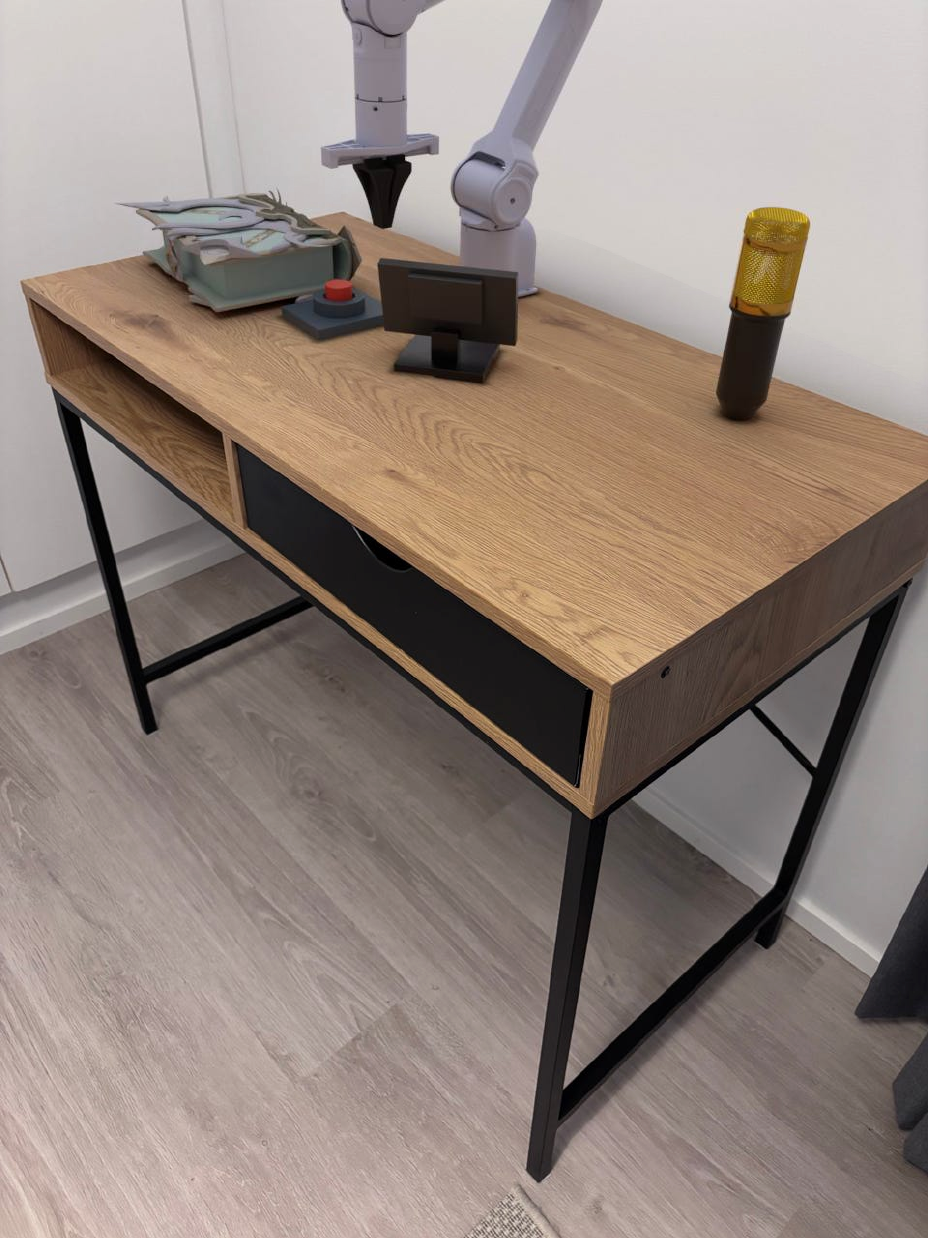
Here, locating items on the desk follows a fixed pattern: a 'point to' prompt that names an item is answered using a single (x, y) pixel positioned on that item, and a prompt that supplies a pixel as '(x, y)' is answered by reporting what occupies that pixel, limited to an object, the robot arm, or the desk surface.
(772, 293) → the microphone
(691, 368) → the desk surface
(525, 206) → the robot arm
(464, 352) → the monitor stand
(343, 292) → the power button
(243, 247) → the ornate book
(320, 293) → the switch box
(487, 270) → the screen
